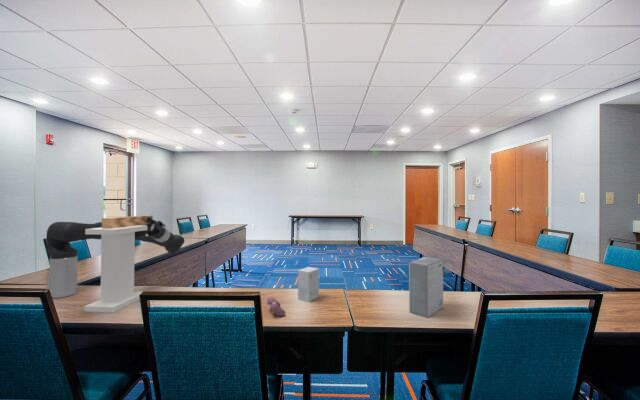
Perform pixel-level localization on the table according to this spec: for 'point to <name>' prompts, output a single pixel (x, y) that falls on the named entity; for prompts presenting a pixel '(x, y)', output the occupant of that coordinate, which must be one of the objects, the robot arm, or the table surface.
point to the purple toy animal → (275, 306)
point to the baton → (124, 222)
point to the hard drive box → (425, 286)
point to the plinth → (116, 268)
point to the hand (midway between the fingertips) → (138, 218)
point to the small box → (308, 284)
